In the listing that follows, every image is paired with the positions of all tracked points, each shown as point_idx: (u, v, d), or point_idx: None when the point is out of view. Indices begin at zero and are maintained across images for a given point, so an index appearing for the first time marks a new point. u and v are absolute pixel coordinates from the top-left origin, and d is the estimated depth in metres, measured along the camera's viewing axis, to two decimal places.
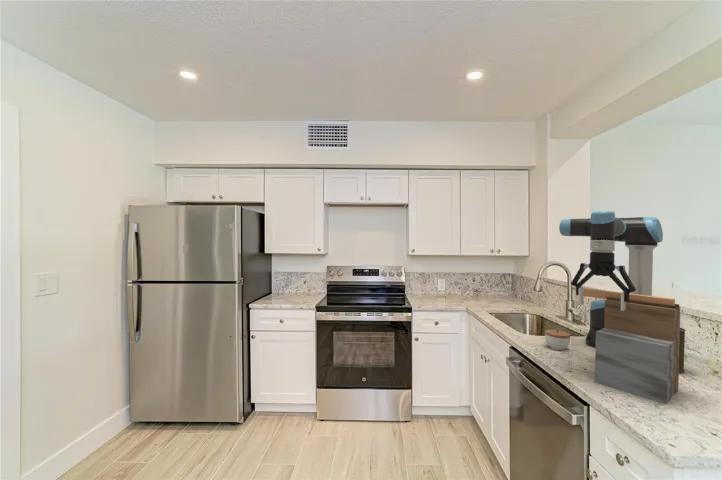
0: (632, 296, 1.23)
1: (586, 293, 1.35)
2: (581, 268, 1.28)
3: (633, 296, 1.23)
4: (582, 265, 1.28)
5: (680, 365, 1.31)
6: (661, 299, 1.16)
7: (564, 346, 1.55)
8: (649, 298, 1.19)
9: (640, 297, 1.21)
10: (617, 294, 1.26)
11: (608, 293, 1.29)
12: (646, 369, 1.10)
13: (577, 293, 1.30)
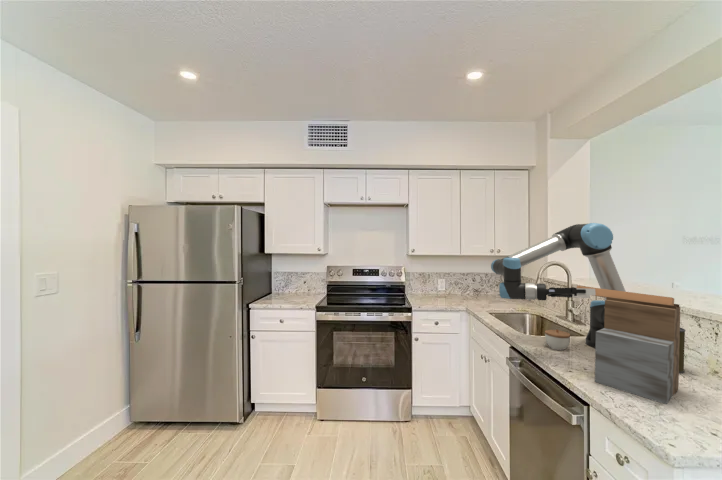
0: (632, 294, 1.23)
1: None
2: None
3: (633, 294, 1.23)
4: None
5: (680, 365, 1.31)
6: (660, 297, 1.17)
7: (564, 346, 1.55)
8: (648, 296, 1.19)
9: (640, 295, 1.21)
10: (617, 292, 1.27)
11: (608, 291, 1.29)
12: (646, 369, 1.10)
13: None
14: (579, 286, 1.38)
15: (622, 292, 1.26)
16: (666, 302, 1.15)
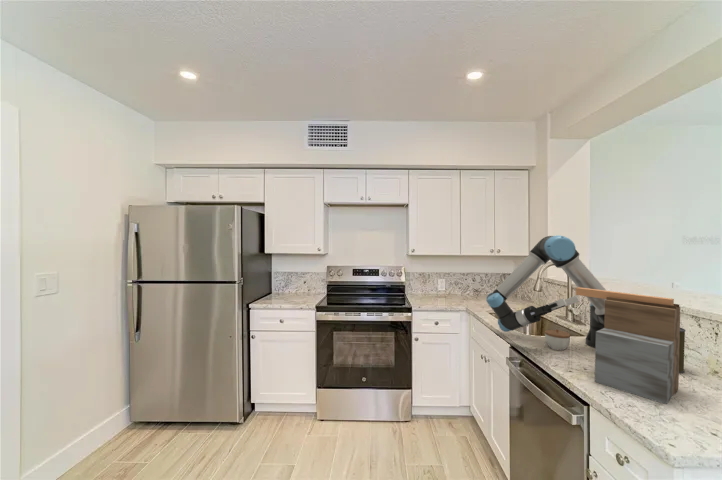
0: (631, 296, 1.23)
1: (585, 293, 1.35)
2: (549, 311, 1.54)
3: (632, 296, 1.23)
4: None
5: (680, 365, 1.31)
6: (660, 299, 1.16)
7: (564, 346, 1.55)
8: (648, 298, 1.19)
9: (639, 297, 1.21)
10: (616, 294, 1.27)
11: (608, 293, 1.29)
12: (646, 369, 1.10)
13: None
14: (578, 288, 1.38)
15: (621, 294, 1.25)
16: (666, 304, 1.15)
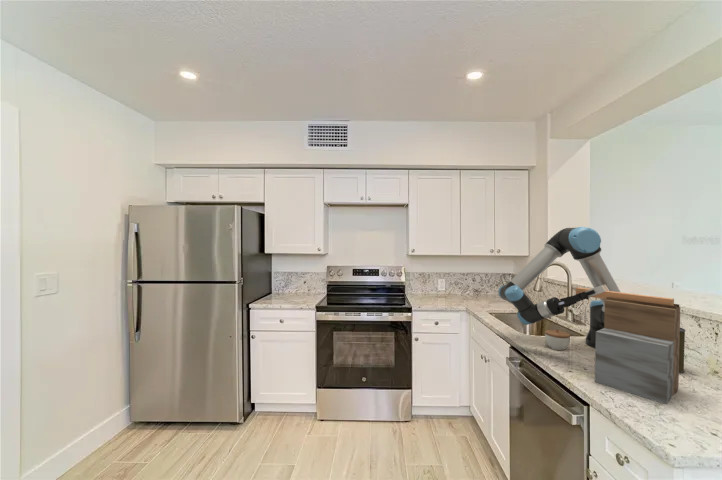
0: (631, 296, 1.23)
1: None
2: None
3: (632, 296, 1.23)
4: None
5: (680, 365, 1.31)
6: (660, 299, 1.16)
7: (564, 346, 1.55)
8: (648, 298, 1.19)
9: (639, 297, 1.21)
10: (616, 294, 1.27)
11: (608, 293, 1.29)
12: (646, 369, 1.10)
13: None
14: (578, 288, 1.37)
15: (621, 294, 1.25)
16: (666, 304, 1.15)
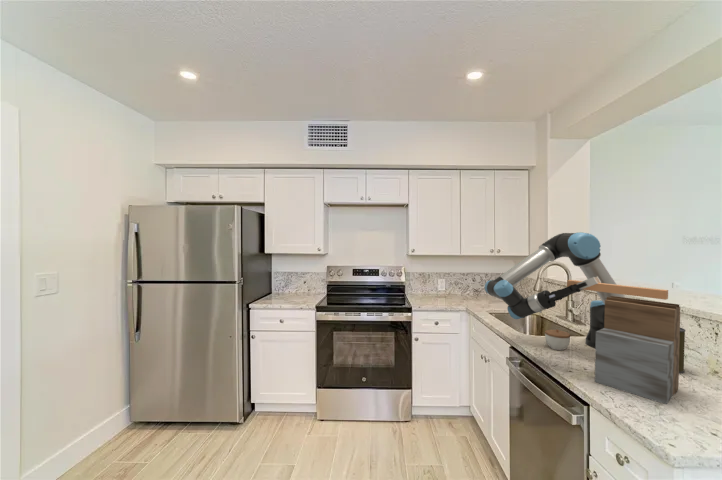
0: (624, 288, 1.18)
1: None
2: None
3: (625, 288, 1.17)
4: None
5: (680, 365, 1.31)
6: (654, 290, 1.11)
7: (564, 346, 1.55)
8: (641, 289, 1.14)
9: (632, 289, 1.16)
10: (608, 286, 1.21)
11: (600, 285, 1.24)
12: (646, 369, 1.10)
13: None
14: (569, 281, 1.32)
15: (614, 286, 1.20)
16: (660, 296, 1.10)
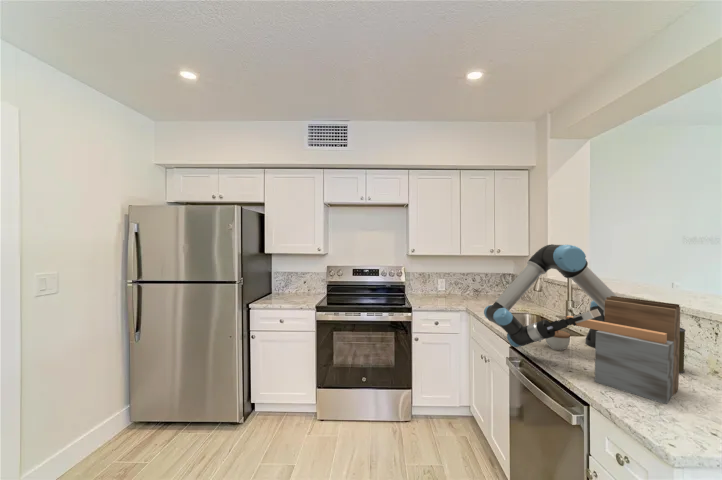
0: (623, 328, 1.18)
1: None
2: None
3: (624, 328, 1.18)
4: None
5: (680, 365, 1.31)
6: (653, 333, 1.11)
7: (564, 346, 1.55)
8: (640, 332, 1.14)
9: (631, 330, 1.16)
10: (607, 325, 1.21)
11: (599, 324, 1.24)
12: (646, 369, 1.10)
13: None
14: (568, 317, 1.32)
15: (613, 326, 1.20)
16: (659, 339, 1.10)
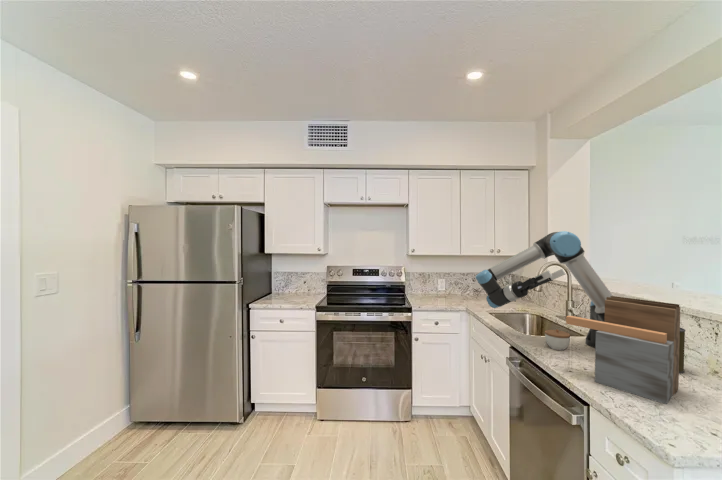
0: (623, 328, 1.18)
1: (576, 322, 1.30)
2: (536, 286, 1.56)
3: (624, 328, 1.18)
4: None
5: (680, 365, 1.31)
6: (653, 333, 1.11)
7: (564, 346, 1.55)
8: (640, 332, 1.14)
9: (631, 330, 1.16)
10: (607, 325, 1.21)
11: (599, 324, 1.24)
12: (646, 369, 1.10)
13: None
14: (568, 317, 1.32)
15: (613, 326, 1.20)
16: (659, 339, 1.10)
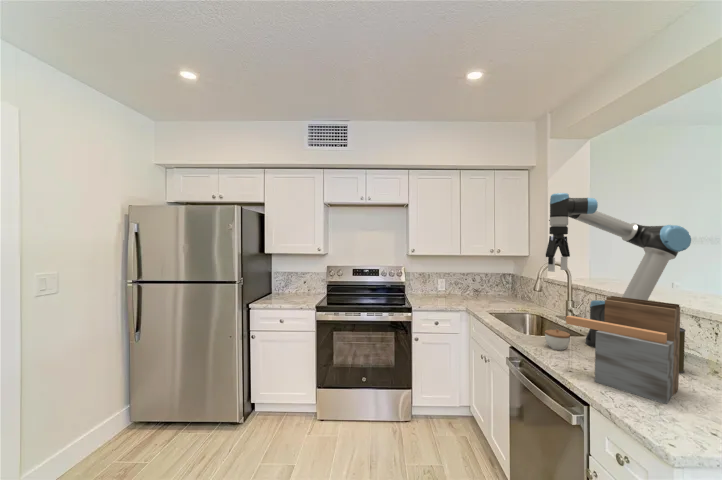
0: (623, 328, 1.18)
1: (576, 322, 1.30)
2: None
3: (624, 328, 1.18)
4: None
5: (680, 365, 1.31)
6: (653, 333, 1.11)
7: (564, 346, 1.55)
8: (640, 332, 1.14)
9: (631, 330, 1.16)
10: (607, 325, 1.21)
11: (599, 324, 1.24)
12: (646, 369, 1.10)
13: None
14: (568, 317, 1.32)
15: (613, 326, 1.20)
16: (659, 339, 1.10)
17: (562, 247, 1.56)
